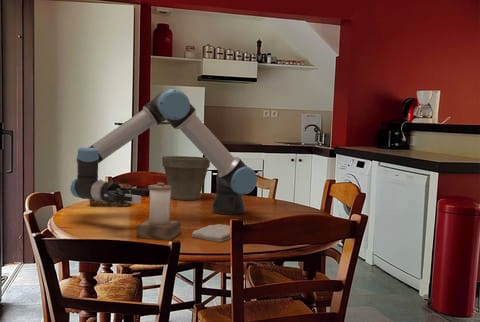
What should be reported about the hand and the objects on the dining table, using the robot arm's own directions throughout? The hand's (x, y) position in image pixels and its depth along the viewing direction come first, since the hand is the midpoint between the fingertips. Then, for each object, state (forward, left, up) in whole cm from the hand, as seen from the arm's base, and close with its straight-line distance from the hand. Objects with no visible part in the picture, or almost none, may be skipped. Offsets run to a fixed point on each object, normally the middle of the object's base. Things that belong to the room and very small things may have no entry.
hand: (152, 197), depth 165 cm
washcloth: (-23, -5, -13) cm, 27 cm away
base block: (-3, +1, -13) cm, 13 cm away
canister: (-3, +1, -8) cm, 9 cm away
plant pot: (+9, -81, -13) cm, 82 cm away
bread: (+36, -49, -13) cm, 62 cm away
